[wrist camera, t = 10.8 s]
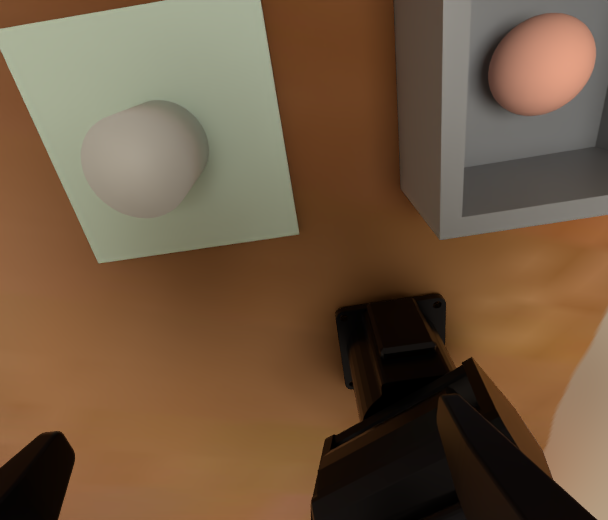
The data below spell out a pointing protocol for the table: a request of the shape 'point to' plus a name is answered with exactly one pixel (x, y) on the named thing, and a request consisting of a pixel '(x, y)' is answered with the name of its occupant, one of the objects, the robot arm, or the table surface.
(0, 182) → the table surface
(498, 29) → the storage box
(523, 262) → the table surface
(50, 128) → the lid
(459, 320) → the table surface
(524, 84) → the visible ball
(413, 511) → the robot arm
